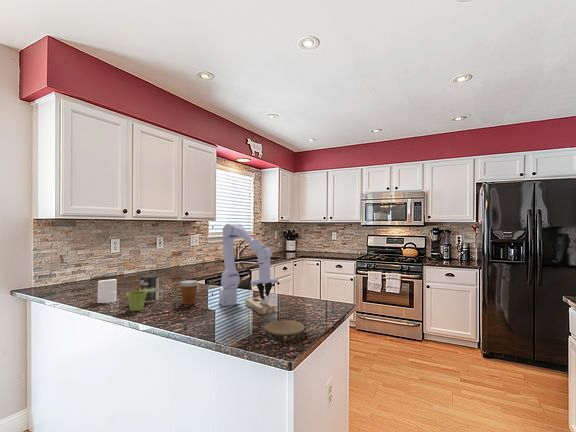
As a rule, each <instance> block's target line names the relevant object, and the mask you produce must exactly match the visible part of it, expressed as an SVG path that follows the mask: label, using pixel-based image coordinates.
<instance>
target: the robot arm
mask: <svg viewBox="0 0 576 432" xmlns="http://www.w3.org/2000/svg"><path fill="white" fill-rule="evenodd" d="M238 237H241V239H243V240H244V241H245V242H246V243H248V247H249V248H250V249H251V250H252V251H253V252H254V253H255V255H256V258H257V259H258V260H257V261H258V279H254V280H250V285H251V286H256V287H257V289H258V292H259V294H260V295H259V296H260V297H261V299H264V294H266V295H268V298H269V297H270V296H269V295H270V292H271V290H272V288H273V286H274V285H273V284H278V283H279V279H278V278H271V258H272V257H273V250H272V249H271V247H267V246H266V245H265V244H263V243H262V242H261V241H260V239H259V238H253V236H251V235H250V233H249V232H248V231H247V230H246V229H245V227H244V226H243V225H242V224H241V223H226V224H225V225H224V226H223V228H222V246H223V247H222V249H223V261H224V271H223V272H222V273H221V278H220V285H221V287H222V288H220V289H219V295H218V296H219V297H218V299H219V300H218V304H219V305H220V306H222V307H225V306H226V307H227V306H233V305H234V306H235V305H240V302H239V301H238V287H239V285H240V284H241V277H240V275H239V271H238V270H236V265H235V254H234V253H235V252H234V240H235V239H236V238H238Z"/></svg>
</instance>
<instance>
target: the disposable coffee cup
mask: <svg viewBox="0 0 576 432" xmlns="http://www.w3.org/2000/svg"><path fill="white" fill-rule="evenodd" d="M179 285H180V289H181V290H180V292H181V297H182V304H183V305H193V304H195V303H196V296H197V290H198V289H197V288H198V285H199V282H198V280H195V279H186V280H181V281H180V283H179Z"/></svg>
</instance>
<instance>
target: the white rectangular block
mask: <svg viewBox="0 0 576 432" xmlns="http://www.w3.org/2000/svg"><path fill="white" fill-rule="evenodd" d="M117 282H118V281H117V278H113V279H103V280H101V279H100V280H98V281H97V304H99V303H106V304H111V302H112V303H115V302H116V301H117V284H118V283H117Z"/></svg>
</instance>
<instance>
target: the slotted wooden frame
mask: <svg viewBox="0 0 576 432" xmlns="http://www.w3.org/2000/svg"><path fill="white" fill-rule="evenodd" d="M244 302H245V306H247V307H249V308H250V309H252V310H253V311H255V312H256V313H257V314H259V315H264V314H271V313H272V314H273V313H276V312H277V311H278V310H277V309H278V307H277V305H276V304H274V303H272V302H271V301H269V300H268V306H265V307H264V306H262V305H261V296H260V297H252V298H245V300H244Z"/></svg>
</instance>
